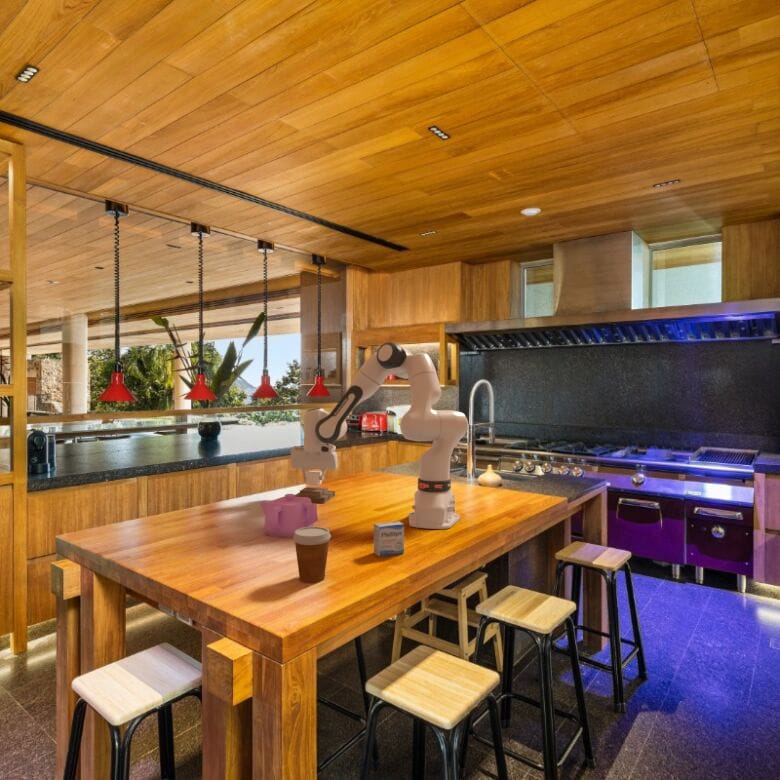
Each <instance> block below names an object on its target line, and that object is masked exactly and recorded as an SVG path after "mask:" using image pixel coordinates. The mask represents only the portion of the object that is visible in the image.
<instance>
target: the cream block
mask: <svg viewBox="0 0 780 780" xmlns="http://www.w3.org/2000/svg"><path fill="white" fill-rule="evenodd" d="M306 472H307V473H306V479H305V480H306V481H305V482H306V486H319V485H321V484H323V480H319V476H320V475H322V473H323V472H322V470H309V471H306Z"/></svg>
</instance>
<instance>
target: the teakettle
mask: <svg viewBox="0 0 780 780" xmlns="http://www.w3.org/2000/svg"><path fill="white" fill-rule="evenodd" d="M295 495H296V494H294V493H286V494H284V496H281V497H278V498H276V499H272V500H271V501H269V502H268V501H266V500H264V501H260V502H259V504H260V507H261V510H262V511H263V513H264V515H265V516H264V532H265V535H266V536H269V535H270V537H276V536H278V537H277V538H284V537H289V538H288V539H293V536H294V534H295V531H296V530H297V529H300V528H304V527H314V525H315V524H314V523H316V522H318V521H319V519H318V509H317V508H318V507H317V503H311V499H310V498H308V497H295Z"/></svg>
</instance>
